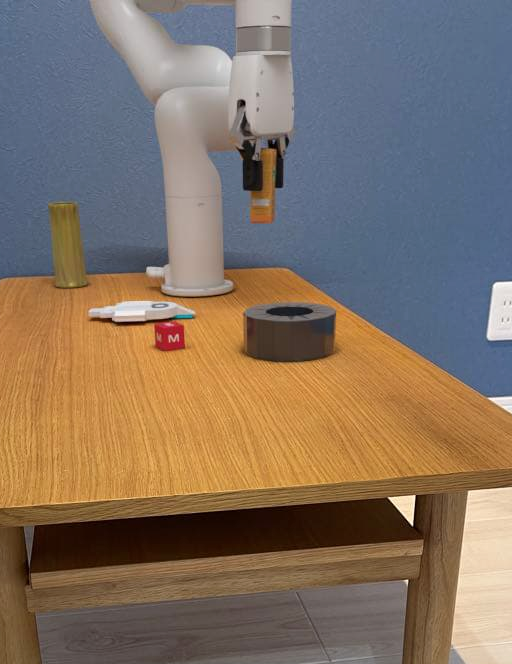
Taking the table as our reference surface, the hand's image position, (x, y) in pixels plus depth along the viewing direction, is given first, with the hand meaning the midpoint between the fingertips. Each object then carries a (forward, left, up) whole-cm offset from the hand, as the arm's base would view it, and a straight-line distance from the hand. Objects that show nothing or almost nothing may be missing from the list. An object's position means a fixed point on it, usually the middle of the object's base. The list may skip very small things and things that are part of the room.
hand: (263, 187), depth 124 cm
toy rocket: (-18, -6, -18) cm, 26 cm away
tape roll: (+7, -23, -18) cm, 30 cm away
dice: (-9, -23, -18) cm, 31 cm away
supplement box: (0, 0, -5) cm, 5 cm away
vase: (-40, +21, -18) cm, 48 cm away
